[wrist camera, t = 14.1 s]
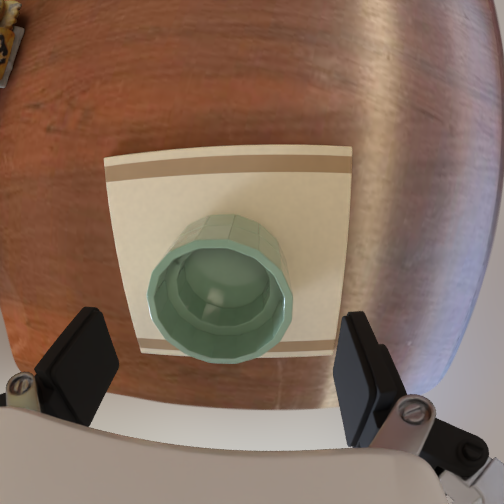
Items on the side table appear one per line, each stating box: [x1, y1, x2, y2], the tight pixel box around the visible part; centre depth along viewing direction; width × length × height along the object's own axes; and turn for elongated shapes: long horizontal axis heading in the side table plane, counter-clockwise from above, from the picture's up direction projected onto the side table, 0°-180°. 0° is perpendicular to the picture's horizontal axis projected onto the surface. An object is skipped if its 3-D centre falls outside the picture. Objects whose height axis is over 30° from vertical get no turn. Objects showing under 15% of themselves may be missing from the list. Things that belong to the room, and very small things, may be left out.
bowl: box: [146, 214, 293, 364], centre depth 16 cm, size 7×7×4 cm
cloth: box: [104, 144, 352, 358], centre depth 18 cm, size 14×14×1 cm
